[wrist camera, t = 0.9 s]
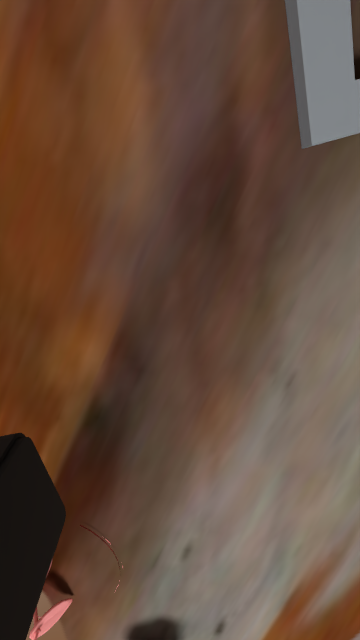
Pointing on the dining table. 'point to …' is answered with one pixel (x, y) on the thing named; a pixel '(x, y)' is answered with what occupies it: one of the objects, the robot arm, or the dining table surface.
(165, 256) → the dining table surface
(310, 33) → the socket block
